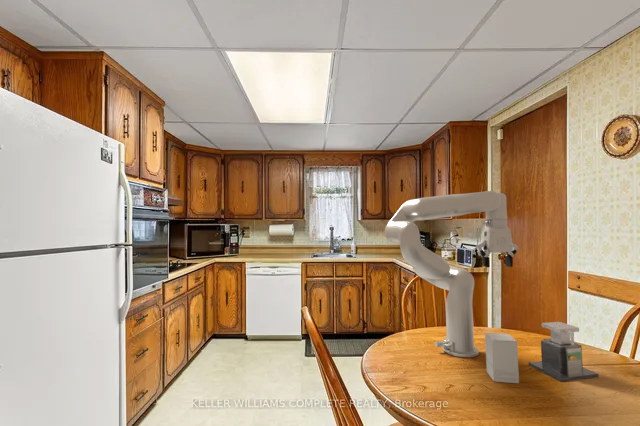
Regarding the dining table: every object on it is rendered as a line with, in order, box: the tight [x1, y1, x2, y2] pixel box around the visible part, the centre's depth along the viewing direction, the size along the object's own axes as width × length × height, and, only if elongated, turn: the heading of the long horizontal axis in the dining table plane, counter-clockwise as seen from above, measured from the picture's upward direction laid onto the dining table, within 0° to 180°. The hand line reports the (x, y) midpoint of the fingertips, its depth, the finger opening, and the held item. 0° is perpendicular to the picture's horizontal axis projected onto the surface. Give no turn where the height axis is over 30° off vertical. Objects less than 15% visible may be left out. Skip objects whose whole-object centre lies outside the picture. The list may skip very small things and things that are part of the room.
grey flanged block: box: [541, 321, 580, 346], centre depth 105 cm, size 7×9×9 cm
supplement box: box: [484, 332, 520, 384], centre depth 103 cm, size 7×7×13 cm
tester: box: [527, 337, 600, 382], centre depth 106 cm, size 14×12×9 cm
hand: (497, 266), depth 130 cm, fingers open, 9 cm apart
